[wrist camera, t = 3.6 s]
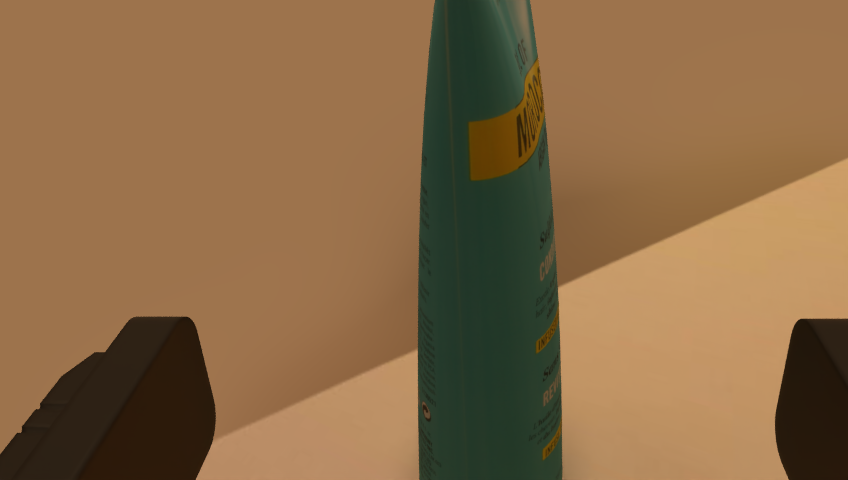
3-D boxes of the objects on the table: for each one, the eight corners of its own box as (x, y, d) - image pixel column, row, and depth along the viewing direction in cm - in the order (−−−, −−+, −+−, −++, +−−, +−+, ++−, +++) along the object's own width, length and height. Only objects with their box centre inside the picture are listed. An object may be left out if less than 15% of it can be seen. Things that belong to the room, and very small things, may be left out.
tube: (566, 584, 23) (602, -116, 14) (406, 573, 24) (343, -103, 15) (557, 416, 30) (578, -139, 21) (432, 411, 30) (398, -130, 21)
